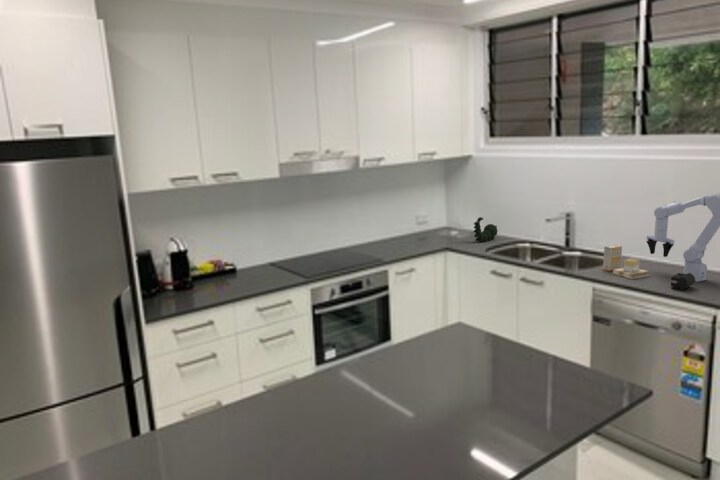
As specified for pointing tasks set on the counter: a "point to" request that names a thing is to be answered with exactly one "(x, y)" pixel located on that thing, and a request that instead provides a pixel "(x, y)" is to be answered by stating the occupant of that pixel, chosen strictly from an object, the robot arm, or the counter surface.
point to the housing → (631, 265)
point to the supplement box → (612, 257)
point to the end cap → (682, 281)
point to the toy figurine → (487, 233)
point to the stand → (631, 273)
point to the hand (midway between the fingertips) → (658, 255)
